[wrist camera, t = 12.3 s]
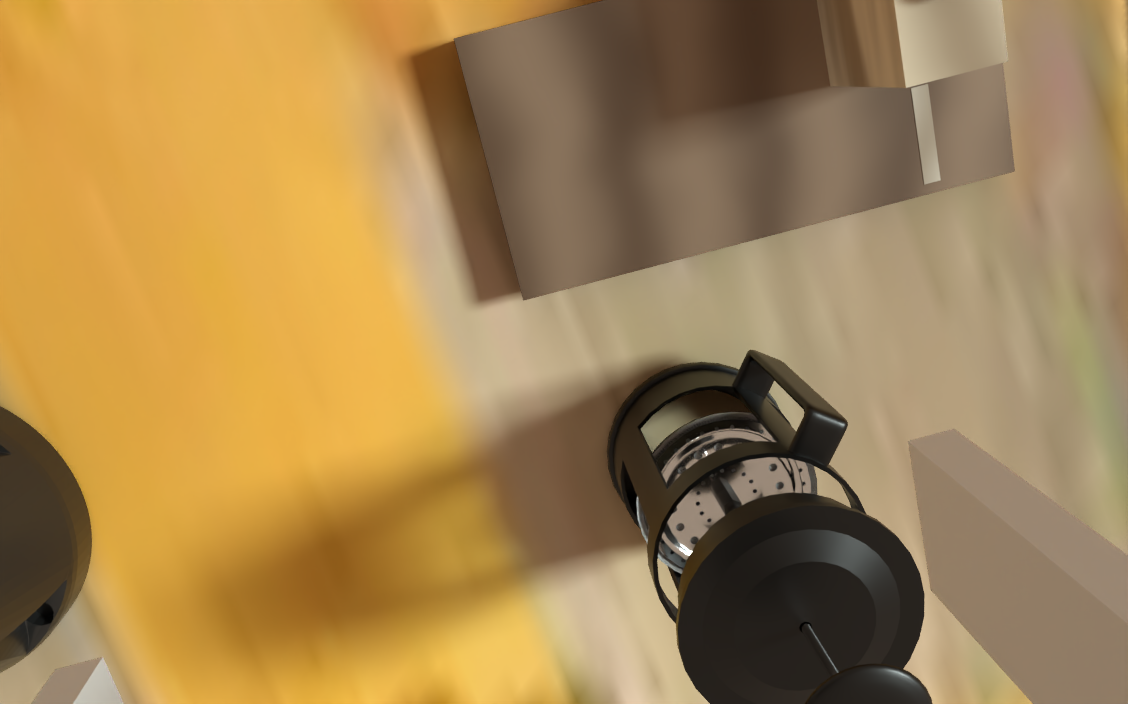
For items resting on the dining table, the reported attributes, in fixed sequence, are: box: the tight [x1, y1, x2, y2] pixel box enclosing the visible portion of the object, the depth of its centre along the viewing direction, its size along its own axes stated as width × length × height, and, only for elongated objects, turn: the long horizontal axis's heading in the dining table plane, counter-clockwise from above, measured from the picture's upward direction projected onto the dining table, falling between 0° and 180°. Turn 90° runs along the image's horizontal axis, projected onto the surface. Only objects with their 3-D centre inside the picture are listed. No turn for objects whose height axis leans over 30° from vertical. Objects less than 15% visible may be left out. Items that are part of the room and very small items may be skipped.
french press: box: [607, 350, 932, 704], centre depth 39 cm, size 12×9×23 cm
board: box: [454, 0, 1015, 300], centre depth 45 cm, size 24×12×2 cm, turn 104°
